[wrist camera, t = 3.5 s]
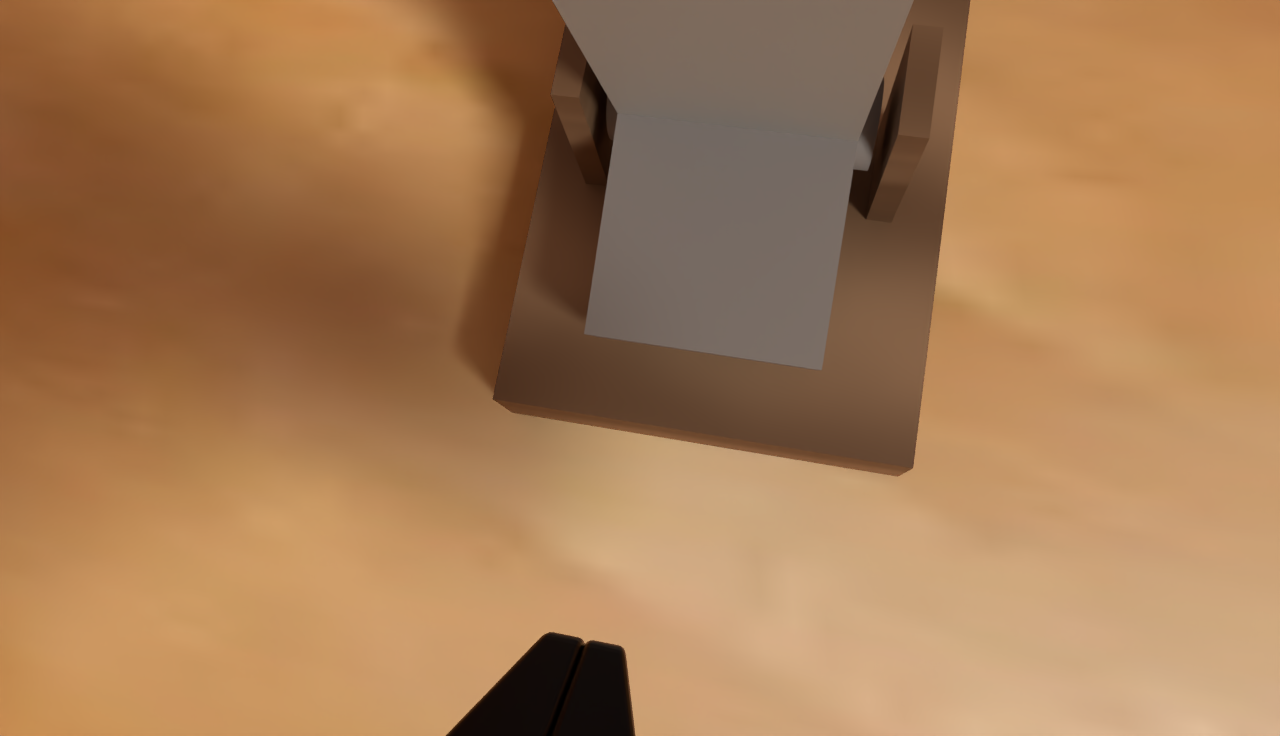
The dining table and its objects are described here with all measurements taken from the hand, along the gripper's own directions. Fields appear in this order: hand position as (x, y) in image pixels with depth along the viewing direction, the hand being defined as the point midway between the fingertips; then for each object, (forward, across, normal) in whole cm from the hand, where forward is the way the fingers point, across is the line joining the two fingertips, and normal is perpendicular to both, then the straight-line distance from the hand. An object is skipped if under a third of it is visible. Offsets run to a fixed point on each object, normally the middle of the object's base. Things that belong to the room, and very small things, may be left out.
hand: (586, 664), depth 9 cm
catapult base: (+17, 0, +2) cm, 17 cm away
